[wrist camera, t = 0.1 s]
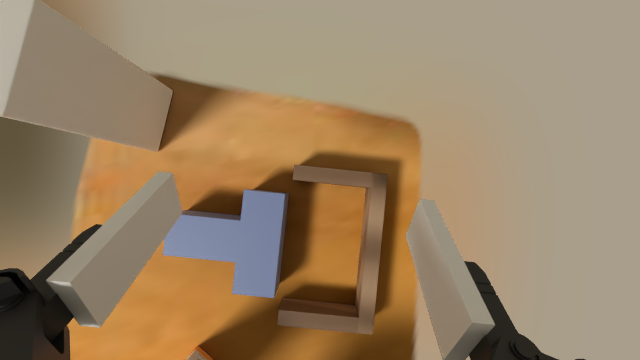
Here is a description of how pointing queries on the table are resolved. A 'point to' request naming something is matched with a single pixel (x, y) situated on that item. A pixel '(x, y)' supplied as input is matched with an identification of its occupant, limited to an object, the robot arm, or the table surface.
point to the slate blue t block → (238, 240)
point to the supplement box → (198, 355)
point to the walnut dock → (363, 311)
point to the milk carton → (75, 80)
